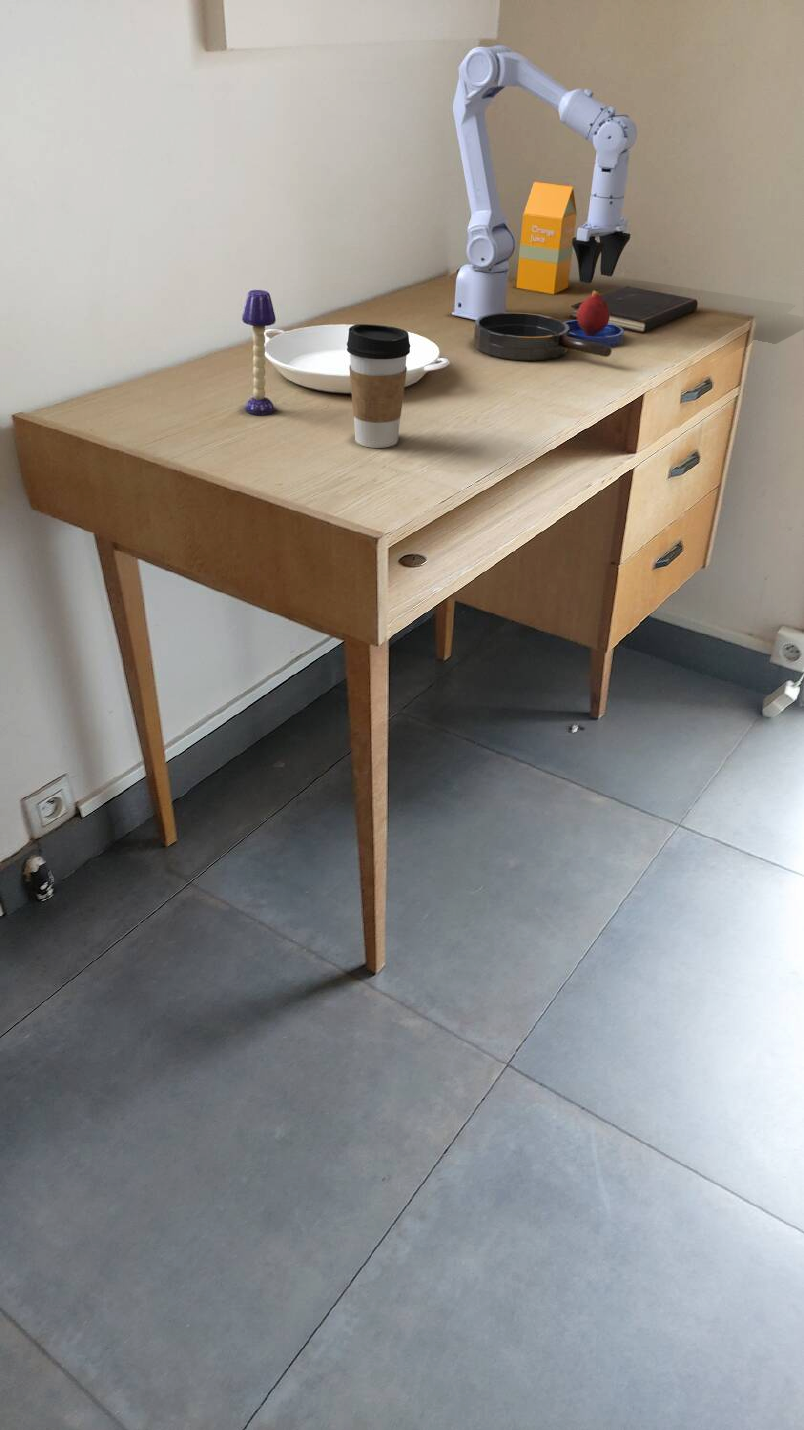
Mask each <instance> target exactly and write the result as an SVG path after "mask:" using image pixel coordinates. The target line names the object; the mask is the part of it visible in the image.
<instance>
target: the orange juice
mask: <svg viewBox="0 0 804 1430" xmlns="http://www.w3.org/2000/svg"><path fill="white" fill-rule="evenodd" d="M574 191H575V190H574V186H573V185H568V184H559V183H551V182H545V181H544V182H542V181H535V180H534V181H533V185H532V188H531V190H530V193H529V196H528V199H527V203H526V205H525V209H524V210H523V211H524V212H523V213H522V222H521V223H522V224H521V231H520V232H521V234H520V244H519V253H518V266H517V275H516V276H517V277H516V289H521V290H527V291H534V292H539V293H544V294H551V295H555V294H558V293H559V292H561V291H563V290H566V289H567V288H569V282H570V281H569V280H570V272H571V265H572V258H573V250H574V247H573V245H572V238H574V237H575V232H576V231H575V230H576V223H577V216H578V212H577V207H576V197H575V192H574Z"/></svg>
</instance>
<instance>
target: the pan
mask: <svg viewBox="0 0 804 1430" xmlns="http://www.w3.org/2000/svg"><path fill="white" fill-rule="evenodd" d="M353 325H354V324H346V323H345V324H344V323H343V324H323V325H321V324H320V325H312V326H305V327H299V328H295V329H290V330H287V331H284V330H283V329H276V328H275V329H273V328H272V329H265V332H264V335H265V343H264V346H265V354H264V356H265V358H266V359H267V360H268V361H269V362H270V363H271V364H272V366H273V367H274V368H275V369H276V370H277V371H278V372H279V373H280V374H281V375H282V376H283V377H284V378H285V379H286V380H288V381H290V382H292V383H294V384H296V385H298V386H301V387H303V388H307V389H310V390H315V391H320V392H325V393H326V392H327V393H331V394H333V393H334V394H345V395H346V394H347V395H349V394H350V395H352V393H351V381H350V369H349V366H350V364H351V362H350V353H349V352H348V351H347V342H348V335H349V328H350V327H351V326H353ZM405 331H406V330H405ZM406 332H408V334H409V343H410V353H409V354H408V355H407V358H406V367H407V371H406V379H405V387H404V388H406V387H407V388H408V387H409V386H412V385H414V384H415V383H418V382H419V380H421V379H422V378H423V377H424V376H425V375H426V374H427V373H428V372H430V371H437V370H440V369H444V368H446V367H447V366H449V365H450V363H451V362H450V360H449V359H448V358H445V357H441V350H440V348H439V346H437V344H436V343H434V342H433V341H432V340H430V339H429V338H427V337H425V336H422V335H420V334H417V333H414V332H411V331H406ZM267 334H275V335H274V336H273V337H269V336H268V335H267Z"/></svg>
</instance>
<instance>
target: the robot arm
mask: <svg viewBox="0 0 804 1430" xmlns="http://www.w3.org/2000/svg"><path fill="white" fill-rule="evenodd" d="M457 68H458V81H457V86H456V89H455V94H454V98H453V103H452V112H453V118H454V123H455V124H454V125H455V129H456V130H455V131H456V134H457V135H456V136H457V141H458V146H459V152H460V158H461V163H462V168H463V175H464V181H465V187H466V192H467V198H468V204H469V209H470V215H471V216H470V220H469V223H468V226H467V237H468V239H467V244H466V257H467V260H468V261H469V263H467V264H464V265H463V266H461V267H460V268H459V270H458V273H457V276H456V279H455V290H454V291H455V294H454V310H453V311H452V312H451V315H452V316H454V317H459V318H465V319H469V320H473V321H476V320H477V319H478V318H479V317H482V316H485V315H488V314H495V313H508V312H507V311H506V307H507V296H508V284H509V275H510V274H509V273H510V272H509V271H510V264H509V259H511V258H512V256H514V253H515V250H516V246H517V245H516V244H517V243H516V242H517V241H516V237H515V235H514V233H513V231H512V230H511V228H510V226H509V223H508V222H509V221H508V217H507V216H506V214H505V213H504V212H503V210H502V209H501V204H500V199H499V193H498V187H497V181H496V180H497V179H496V175H495V174H496V173H495V170H494V169H495V167H494V163H493V157H492V149H491V143H490V138H489V133H488V126H487V121H486V114H485V113H486V111H487V109H488V108H489V106H490V105H491V103H492V101H493V100H494V98H495V97H496V96H497V95H498V94H499V93H500V92H501V91H503V90H504V89H506V87H519V88H521V89H523V90H524V91H526V92H527V93H529V94H530V95H533V96H534V97H535V98H538V99H539V100H541V101H543V102H544V103H546V104H547V105H549V106H550V107H552V108H554V109H556V110H557V111H558V116H559V120H560V123H561V124H563V125H564V126H565V127H567V128H569V129H571V131H572V132H574V133H576V134H578V135H579V136H581V137H582V138H583V139H585V140H586V141H588V142H589V143H592V145H593V147H594V150H595V151H596V155H595V163H594V166H593V174H592V182H591V183H592V184H591V191H590V198H589V204H588V205H589V207H588V213H587V220H586V221H585V223H584V224H583V225H582V226H579V227H578V228H577V232H576V233H577V234H576V236H574V238H572V245H573V250H574V253H575V257H576V262H577V268H578V277H579V282H581V283H585V284H592V282H593V279H594V277H595V272H596V267H597V263H598V260H599V257H600V265H599V266H600V267H599V269H600V275H601V276H605V277H609V278H610V277H613V275H614V273H615V271H616V267H617V266H618V263H619V259H620V257H621V254H622V252H623V251H624V249H625V247H626V245H627V244H628V242H629V241H630V239H631V233H629V232H626V231H627V229H628V223H629V219H628V218H624V217H622V214H623V207H624V199H625V194H626V193H625V192H626V187H627V179H628V171H629V161H630V155H631V151H630V149H632V147H633V146H634V145H635V143H636V140H637V136H638V129H637V126H636V124H635V122H634V120H633V119H631V117H630V116H629V115H628V114H627V113H619V114H616V112H617V108H615V107H614V106H612V105H611V106H607V105H606V104H604V103H602V102H601V101H600V100H599V99H597V98H595V97H594V94H595V92H594V91H593V90H591V89H590V88H585V89H582V88H576V89H572V90H568V89H567V88H566V87H564V86H563V85H562V84H560V83H559V82H558V81H557V80H556V79H554V78H553V77H551V76H550V75H549V74H548V73H546V72H545V71H543V70H542V69H541V68H540V67H538V66H537V65H535V64H534V63H533V62H531V60H529V59H527V58H526V57H525V56H524V55H522V54H520V53H518V52H516V51H512V50H511V49H510V48H509V47H508V46H505V45H500V44H499V45H494V46H486V47H485V46H476V47H474V48H472V49H470V51H469V52H468V53H467V54H466V56H465V57H464V59H463V60H462V62H461V63H460V64H459V66H458V67H457ZM596 238H598V239H599V241H598V240H597V239H596Z"/></svg>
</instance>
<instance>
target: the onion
mask: <svg viewBox="0 0 804 1430" xmlns="http://www.w3.org/2000/svg"><path fill="white" fill-rule="evenodd" d="M600 295H601V294H599V292H598V291H596V290H592V292H591V296H589V297H586V299H585V300H584V302H583V301H582V302H583V303H582V304H581V305H580V307H579V309H578V312H577V319H576V320H577V321H578V324H579V326H580V327H581V329H582V330H583V331H584V332H585V333H586V335H587V336H594V335H595V334H597V333H599V332H600V331H602V330H603V329H604V328H605V327H606V325H607V324H608V321H609V308H608V306H607V304H606V302H605V301H604V300H603V299H602V298H601V297H600Z"/></svg>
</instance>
